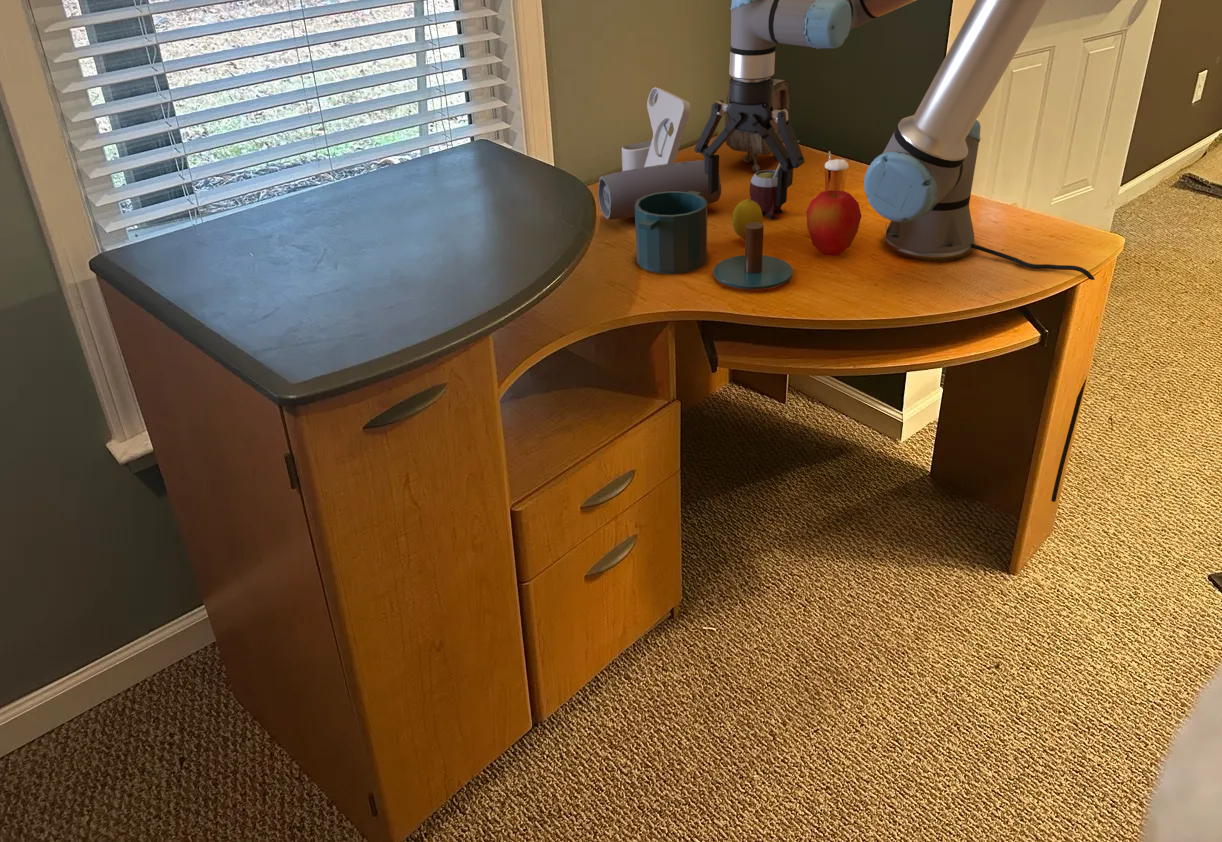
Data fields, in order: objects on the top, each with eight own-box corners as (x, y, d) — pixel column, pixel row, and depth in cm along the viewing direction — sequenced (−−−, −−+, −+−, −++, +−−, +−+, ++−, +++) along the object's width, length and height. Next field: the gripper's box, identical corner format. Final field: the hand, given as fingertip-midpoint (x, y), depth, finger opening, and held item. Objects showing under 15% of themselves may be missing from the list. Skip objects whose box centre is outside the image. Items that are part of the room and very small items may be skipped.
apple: (793, 252, 176) (797, 187, 170) (829, 239, 180) (834, 175, 174) (832, 268, 170) (837, 201, 163) (868, 254, 174) (874, 188, 168)
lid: (805, 269, 170) (808, 218, 165) (772, 299, 161) (774, 246, 156) (735, 255, 176) (736, 206, 171) (699, 283, 167) (699, 232, 162)
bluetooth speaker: (704, 199, 201) (704, 151, 196) (722, 214, 194) (722, 164, 188) (598, 216, 196) (595, 167, 191) (612, 232, 188) (610, 181, 183)
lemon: (760, 246, 179) (762, 204, 175) (730, 245, 180) (731, 203, 176) (763, 235, 184) (764, 193, 180) (733, 234, 185) (734, 193, 181)
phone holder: (618, 174, 217) (614, 90, 208) (659, 166, 220) (658, 84, 211) (651, 197, 204) (649, 109, 194) (694, 189, 207) (695, 102, 197)
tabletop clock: (759, 176, 212) (763, 55, 199) (722, 170, 216) (723, 51, 203) (787, 156, 222) (793, 40, 209) (751, 151, 226) (754, 37, 213)
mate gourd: (743, 210, 195) (745, 134, 187) (780, 205, 197) (784, 130, 189) (757, 223, 189) (760, 145, 181) (795, 217, 190) (800, 140, 182)
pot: (725, 248, 179) (726, 192, 174) (677, 284, 167) (676, 226, 161) (666, 236, 185) (665, 182, 180) (615, 271, 173) (613, 214, 167)
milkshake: (835, 198, 198) (839, 149, 193) (849, 207, 194) (853, 157, 188) (815, 202, 197) (818, 152, 192) (828, 210, 193) (832, 160, 187)
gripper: (829, 79, 163) (819, 202, 175) (697, 64, 175) (695, 180, 186) (811, 90, 158) (802, 216, 169) (676, 74, 170) (676, 193, 181)
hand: (746, 197), depth 178 cm, fingers open, 13 cm apart
